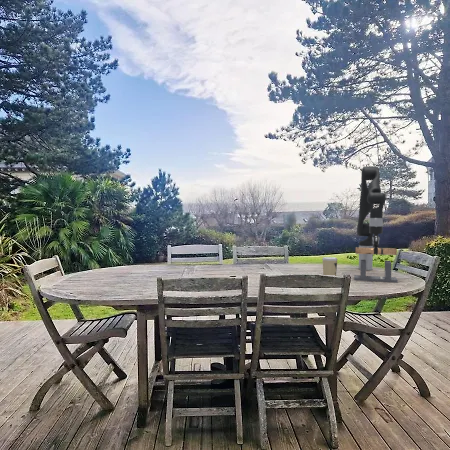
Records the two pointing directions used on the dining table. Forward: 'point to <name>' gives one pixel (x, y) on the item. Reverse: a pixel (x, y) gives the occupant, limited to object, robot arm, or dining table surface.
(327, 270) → the coffee cup
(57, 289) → the dining table surface
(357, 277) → the grey u-shaped frame
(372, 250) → the copper tube
